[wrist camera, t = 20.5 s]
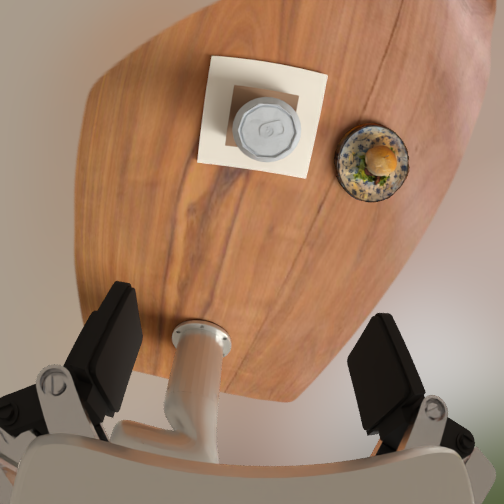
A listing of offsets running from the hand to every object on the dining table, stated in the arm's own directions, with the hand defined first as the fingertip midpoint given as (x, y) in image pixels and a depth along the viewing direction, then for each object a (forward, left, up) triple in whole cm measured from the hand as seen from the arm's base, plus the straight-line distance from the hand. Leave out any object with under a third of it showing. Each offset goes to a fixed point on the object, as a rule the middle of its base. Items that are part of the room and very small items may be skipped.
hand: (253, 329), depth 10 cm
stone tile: (+6, 0, -30) cm, 31 cm away
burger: (+3, -17, -31) cm, 35 cm away
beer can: (+6, 0, -24) cm, 24 cm away
